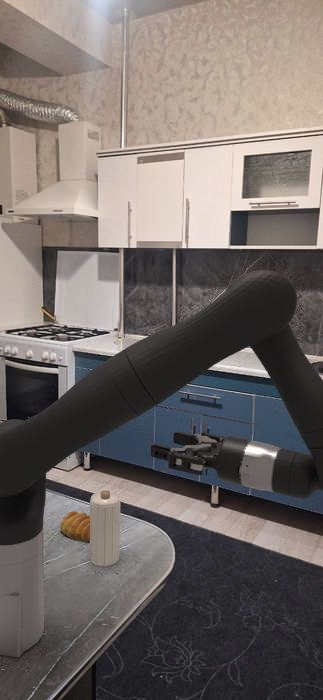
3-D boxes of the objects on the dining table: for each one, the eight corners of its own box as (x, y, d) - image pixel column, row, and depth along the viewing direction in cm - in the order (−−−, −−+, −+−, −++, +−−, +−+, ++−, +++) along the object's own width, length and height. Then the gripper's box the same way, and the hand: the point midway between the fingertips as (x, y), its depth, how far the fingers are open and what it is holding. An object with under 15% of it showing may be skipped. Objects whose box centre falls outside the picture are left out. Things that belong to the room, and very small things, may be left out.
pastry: (109, 535, 107) (109, 518, 106) (87, 548, 102) (87, 531, 101) (78, 521, 112) (78, 505, 112) (56, 533, 107) (56, 517, 106)
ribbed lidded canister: (115, 567, 95) (116, 500, 93) (86, 564, 96) (86, 497, 94) (121, 551, 100) (123, 487, 98) (94, 548, 101) (95, 485, 99)
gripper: (265, 430, 87) (182, 414, 95) (237, 454, 75) (144, 433, 82) (261, 471, 88) (179, 451, 96) (233, 501, 76) (142, 476, 83)
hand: (163, 443), depth 89 cm, fingers open, 8 cm apart
